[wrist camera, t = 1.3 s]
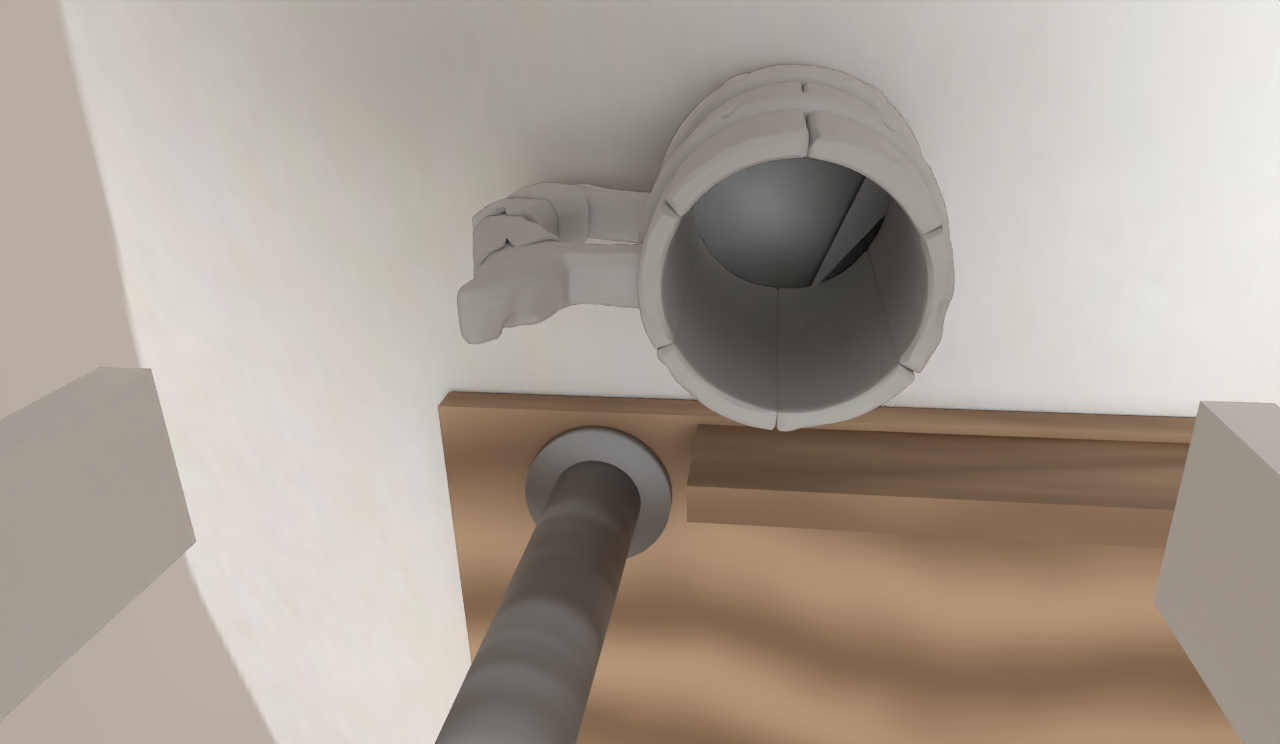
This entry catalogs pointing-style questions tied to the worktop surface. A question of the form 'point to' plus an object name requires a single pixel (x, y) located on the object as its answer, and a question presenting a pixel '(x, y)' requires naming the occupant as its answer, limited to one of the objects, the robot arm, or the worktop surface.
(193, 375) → the worktop surface
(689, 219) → the mug
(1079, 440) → the wooden tray with post
